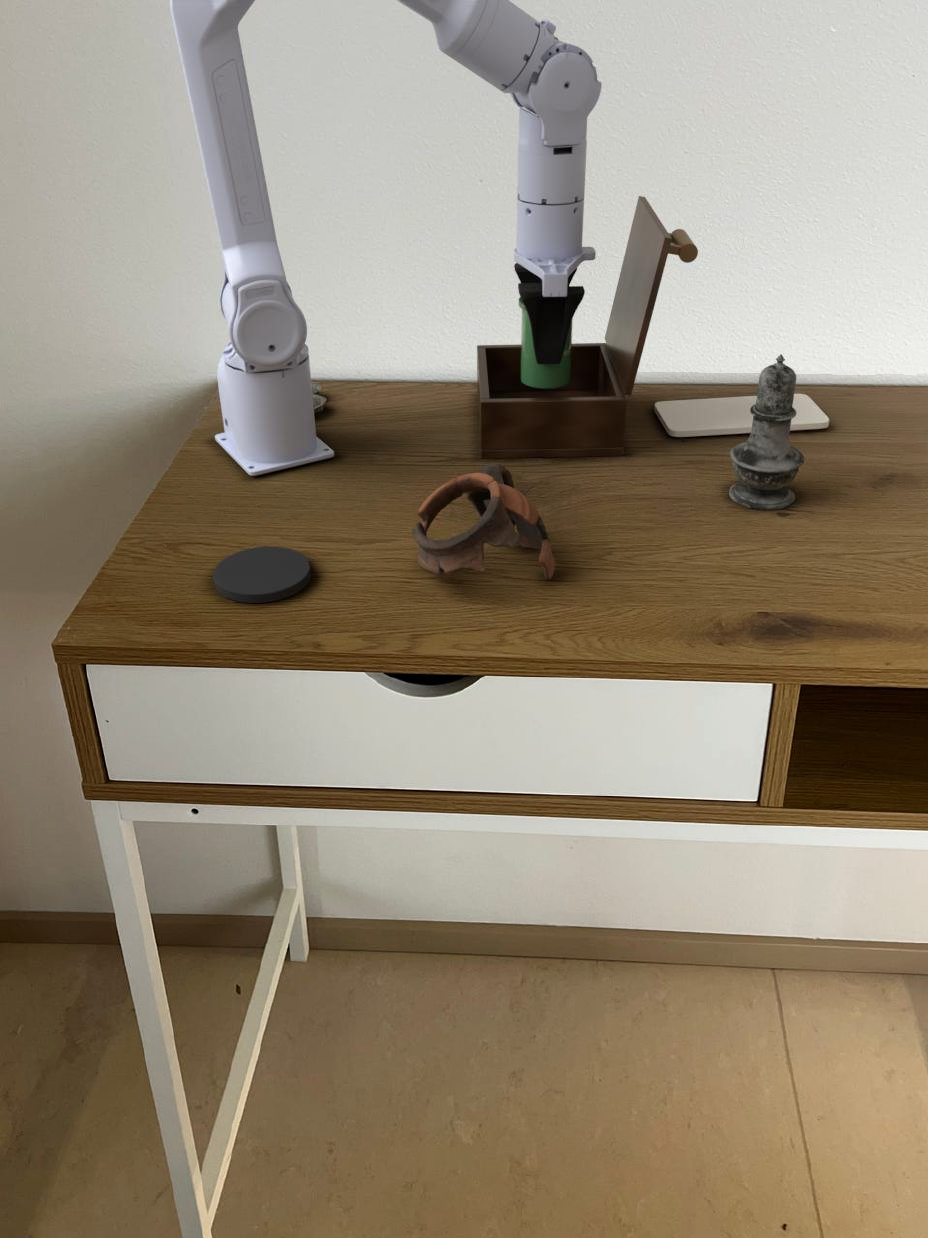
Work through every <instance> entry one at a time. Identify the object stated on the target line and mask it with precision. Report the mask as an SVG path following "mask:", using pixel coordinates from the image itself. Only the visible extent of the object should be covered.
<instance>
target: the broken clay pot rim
mask: <svg viewBox="0 0 928 1238" xmlns="http://www.w3.org/2000/svg"><path fill="white" fill-rule="evenodd" d="M463 494H466V498H467V500H468V501H469V502H471V504H472V506H473V508H474V509H475V511H477V513H478V516H479V517H480V518H479V519H478V520H477V521H476V522H474V524H472V526H470V527H469V528H468V529H466V530H464V531H462V532H461V533H458V534H456V535H454V536H452V537H449V538H445V539H432V538H430V537H428V536H427V533H428V530H429V528H430V526H431V524H432V523H433V521H434V520H435V518H436V517H437V516H438V514H440V513H441V511H442V510H444V509H445V508H446V507H447V506H448V505H450V504H451V503H452V502H454V501H456V499H459V498H461V497H462V496H463ZM417 516H419V517H420V518H421V520H422V522H420V521H418V522H416V523H415V525H414V526H413V527H412V529H411V535H412V538H413V540H414V541H415V543H416V544H417V563H418V564H419V565H420V567H422V568H423V569H425V570H426V571H428V572H431V573H433V574H436V575H442V574H444V573H446V574H454V573H455V574H456V573H458V572H460V571H464V570H473V571H476V572H478V573H483V574H485V573H487V569H486V567H485V552H484V551H485V549H484V548H485V544H487V545H489V546H491V547H494V548H502V547H503V548H504V547H508V548H516V547H518V546H521V547H522V548H524V549H529V548H531V549H534V550H538V551H540V553H539V556H538V563H539V565H540V566H541V567H542V568H543V576H544V579H545V580H547V581H550V580H551V579H552V578H553V575H554V572H555V557H554V555H553V551H552V545H551V544H552V543H551V542H552V541H551V539H550V537H549V533H548V532H547V527H546V525H545V524H544V521H543V519H542V516H541V515H540V513H539V511H538V509H537V508H536V507H535V505H533V504H532V502H531V500H529V499H528V498H527V496H525V494H523V493H522V492H521V491H519V489H516V488H515V483H514V479H513V475H512V473H511V472H510V469H508V468H507V467H506V466H505V465H504V464H501V463H499V462H492V463H490V464H487V465H483V466H482V467H481V468H480V470H479V471H478V472H472V473H465V474H462V475H459V476H456V477H455V478H451V479H450V480H448V481H447V482H445V483H443V484H442V485H440V486H439V487H438V488H436V489H435V490H434V491H433V492H432V493H431V494H429V496H427V498H426V499H425V500H424V501H423V502H422V504H421V505H420V506H419V508H418V511H417ZM515 527H516V528H515Z"/></svg>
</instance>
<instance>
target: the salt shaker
mask: <svg viewBox="0 0 928 1238" xmlns="http://www.w3.org/2000/svg"><path fill="white" fill-rule="evenodd" d="M775 360H776V363H774V364H771V365H767V366H766V367H764V368H763V369H762V370H761V371H760V374H759V377H758V385H757V391H756V393H757V394H756V396H757V400H756V404H755V405H753V406H752V407H751V409H750V412H751V414H752V415H753V423H752V431H751V433H749V436H748V439H747V441H744V442H740V443H738V444H736V445H734V446H733V447H732V448H731V449H730V452H729V456H730V460H732V468H733V470H734V474H735V477H736V478H737V479H738V480H739V481H738V482H736V483H734V484H733V485H731V486H730V488H729V490H728V495H729V497H730V499H731V500H732V501H733V502H735V503H737V504H738V505H740V506H743V507H746V508H749V509H754V510H760V511H773V510H774V511H775V510H781V509H785V508H787V507H789V506H791V505H793V503H794V502H795V498H796V496H795V493H794V491H793V490H792V489H791V488H789V487H788V485H789V484H791V483H792V482H793V481H794V480H795V478H796V476H797V475H798V473H799V471H800V468H801V467H802V466H803V465H804V464H805V455H804V454H803V453H802V451H800V450H799V449H798V448H796V447H795V446H792V445H791V442H790V432H791V430H790V425H791V419H792V418H794V417H795V416H796V410H795V409H794V408H793V407H792V405H793V398H794V394H795V392H796V391H795V390H796V385H797V373H796V372H795V371H794V369H792V368H791V366H788V365H786V364H785V363H784V362H785V361H786V359H785V357H784V356H783V354H779V355H778V356H777V357H776V358H775Z"/></svg>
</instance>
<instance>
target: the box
mask: <svg viewBox="0 0 928 1238" xmlns="http://www.w3.org/2000/svg"><path fill="white" fill-rule="evenodd" d="M476 390H477V391H476V393H477V394H476V395H477V396H476V397H477V398H476V399H477V413H478V429H479V445H480V458H481V459H522V458H523V459H525V458H526V459H527V458H529V459H530V458H531V459H532V458H577V457H579V458H581V457H585V458H586V457H623V456H624V454H625V441H626V440H625V439H626V427H627V425H626V424H627V411H628V398H627V395H624V392H623V389H622V386H621V384H620V381H619V378H618V375H617V372H616V369H615V367H614V364H613V361H612V358H611V355H610V352H609V350H608V347H607V344H606V342H587V343H586V342H585V343H576V342H575V343H572V350H571V374H570V382H569V383H568V384H567V385H565V386H562V387H558V388H550V389H543V388H534V387H530V386H527V385H525V384H523V383H522V382H521V344H478V345H476Z"/></svg>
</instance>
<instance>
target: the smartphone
mask: <svg viewBox="0 0 928 1238" xmlns="http://www.w3.org/2000/svg"><path fill="white" fill-rule="evenodd" d="M756 400H757V395H746V396H730V397H714V398H713V397H712V398H710V397H709V398H696V399H679V400H661V401H657V402H655V403H654V409H653V411H654V413H655V414H656V416H657V418H658V420H659V422H660V423H661V425H662V427H663V428H664V430H665V431H666V433H667V434H668V435H669V436H671V437H675V438H686V437H687V438H688V437H703V436H704V437H705V436H706V437H707V436H722V435H739V434H751V431H752V423H753V415H752V414H751V412H750V409H751V407H752V406H753V405H755V404H756ZM792 407H793V408H794V409H795V410H796V416H795V417H794V418H792V419H791V425H790V431H805V430H806V431H807V430H820V429H826V428H828V427H829V426H830V418H829V417H828V416H827V414H825V412H824V411H823V410H822V409H821V408H820V407H819V406H818V405H817V404H816V402H815V401H814V400H813V399H812V398H811V397H810V396H809V395H807V394H805V393H794V398H793V405H792Z"/></svg>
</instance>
